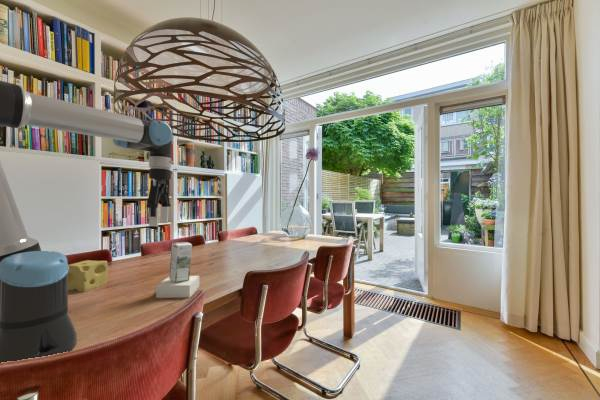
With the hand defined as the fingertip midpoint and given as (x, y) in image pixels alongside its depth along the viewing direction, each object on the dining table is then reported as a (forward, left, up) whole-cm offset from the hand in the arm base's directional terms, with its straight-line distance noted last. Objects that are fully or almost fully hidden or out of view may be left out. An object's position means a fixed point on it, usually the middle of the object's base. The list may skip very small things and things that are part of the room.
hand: (159, 224), depth 103 cm
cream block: (+1, -7, -27) cm, 28 cm away
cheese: (+15, +31, -27) cm, 44 cm away
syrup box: (+1, -7, -22) cm, 23 cm away
